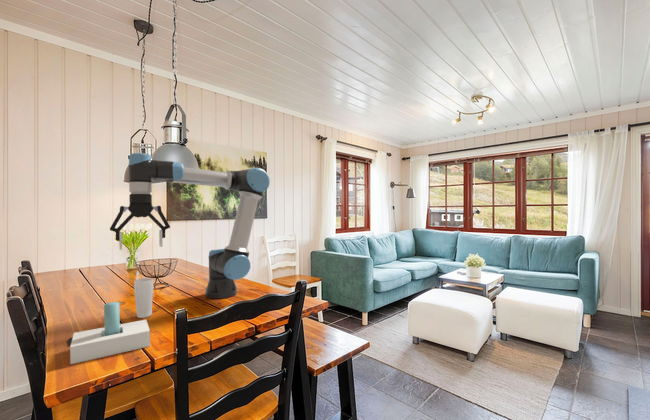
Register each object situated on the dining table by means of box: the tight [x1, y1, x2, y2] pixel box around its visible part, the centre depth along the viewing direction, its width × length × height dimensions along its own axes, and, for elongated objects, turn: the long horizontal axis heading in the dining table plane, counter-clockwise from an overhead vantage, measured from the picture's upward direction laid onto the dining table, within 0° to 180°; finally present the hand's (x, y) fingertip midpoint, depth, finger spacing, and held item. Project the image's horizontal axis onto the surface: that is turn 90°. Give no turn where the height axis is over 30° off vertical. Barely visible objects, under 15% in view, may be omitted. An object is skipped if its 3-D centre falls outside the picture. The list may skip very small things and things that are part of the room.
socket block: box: [69, 319, 151, 365], centre depth 100 cm, size 20×12×5 cm, turn 125°
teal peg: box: [103, 301, 121, 336], centre depth 100 cm, size 4×4×14 cm
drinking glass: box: [133, 277, 154, 319], centre depth 128 cm, size 7×7×15 cm
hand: (141, 247), depth 123 cm, fingers open, 13 cm apart
